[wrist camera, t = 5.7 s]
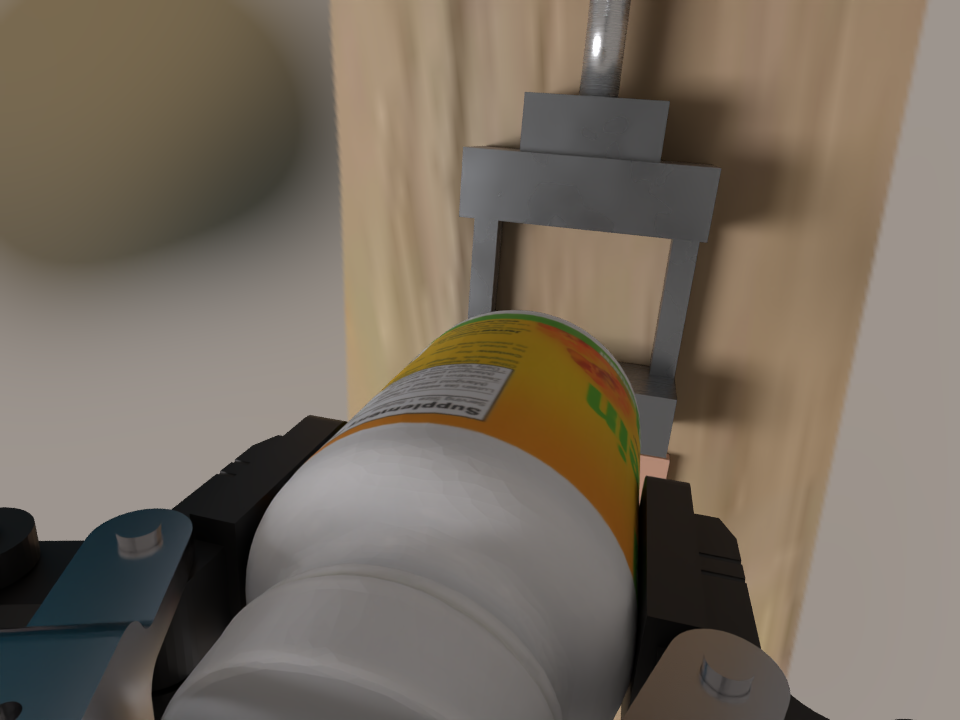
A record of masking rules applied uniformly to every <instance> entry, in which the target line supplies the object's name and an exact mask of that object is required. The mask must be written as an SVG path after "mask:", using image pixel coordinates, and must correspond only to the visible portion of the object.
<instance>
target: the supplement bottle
mask: <svg viewBox="0 0 960 720" xmlns="http://www.w3.org/2000/svg"><path fill="white" fill-rule="evenodd" d="M640 451H641V431H640V419H639V411H638V405H637V402H636V398H635V394H634V391H633V389H632V386H631V384H630V382H629V380H628V378H627V376H626V374H625V373H624V371H623V369H622V367H621V366H620V364H619V363H618V362H617V361H616V359H615V358H614V357H613V356H612V354H611V353H610V352H609V351H608V350H607V349H606V348H605V347H604V346H603V345H602V344H601V343H600V342H599V341H598V340H596V339H595V338H594V337H593V336H591V335H590V334H589V333H587V332H586V331H584V330H583V329H581V328H580V327H578V326H576V325H574V324H572V323H570V322H568V321H566V320H563V319H561V318H558V317H555V316H552V315H548V314H545V313H539V312H534V311H523V310H505V311H496V312H490V313H486V314H481V315H478V316H475V317H472V318H469V319H467V320H465V321H463V322H461V323H459V324H457V325H455V326H454V327H452V328H451V329H449V330H448V331H446V332H445V333H444V334H442V335H441V336H440V337H439V338H437V339H436V340H435V341H433V342H432V343H431V344H430V345H429V346H428V347H427V348H426V349H425V350H423V351H422V352H421V353H420V354H419V355H418V356H417V357H416V358H415V359H414V360H413V361H411V362H410V363H409V364H408V365H407V366H406V368H404V369H403V370H402V371H401V372H400V373H399V374H398V375H397V376H396V377H395V378H394V379H392V380H391V381H390V382H389V383H388V384H387V385H386V386H385V387H384V388H383V389H382V390H381V391H380V392H379V393H378V394H377V395H376V396H375V397H374V398H373V399H372V400H370V401H369V402H368V403H367V404H366V405H365V406H364V407H363V408H362V409H361V410H360V411H359V412H358V413H357V414H356V415H355V416H354V417H353V418H352V419H351V420H350V421H349V422H348V423H347V424H346V425H345V426H344V427H342V428H341V429H340V430H339V431H338V432H337V433H336V434H335V435H334V436H333V437H332V438H331V439H330V440H329V441H328V442H327V443H325V444H324V445H323V446H322V447H321V448H320V449H319V450H318V451H317V452H316V453H315V454H314V455H312V456H311V457H310V458H309V459H308V460H307V461H306V462H305V463H304V464H303V465H302V466H301V467H300V468H299V469H298V470H297V471H296V472H295V474H294V475H293V476H292V477H291V479H290V480H289V481H288V482H287V483H286V484H285V485H284V486H283V487H282V489H281V490H280V491H279V492H278V493H277V495H276V496H275V497H274V499H273V500H272V502H271V503H270V505H269V506H268V508H267V510H266V512H265V514H264V515H263V517H262V520H261V522H260V524H259V526H258V528H257V530H256V532H255V535H254V539H253V542H252V545H251V548H250V553H249V558H248V563H247V569H246V587H245V592H246V607H244V608H243V609H242V610H241V611H240V612H239V613H238V614H237V615H236V616H235V617H234V618H233V619H232V621H231V622H230V623H229V625H228V626H227V627H226V629H225V630H224V632H223V633H222V635H221V636H220V638H219V639H218V640H217V641H216V643H215V644H214V645H213V646H212V648H211V649H210V650H209V651H208V652H207V654H206V655H205V656H204V657H203V658H202V660H201V661H200V662H199V663H198V665H197V666H196V667H195V669H194V670H193V671H192V672H191V674H190V675H189V676H188V677H187V679H186V680H185V681H184V682H183V684H182V685H181V686H180V687H179V689H178V690H177V691H176V693H175V694H174V696H173V698H172V699H171V701H170V702H169V704H168V706H167V708H166V710H165V712H164V714H163V716H162V718H161V720H613V719H614V717H615V715H616V713H617V711H618V709H619V708H620V706H621V704H622V701H623V699H624V696H625V694H626V692H627V689H628V687H629V683H630V679H631V675H632V671H633V666H634V660H635V651H636V639H637V625H638V570H639V489H640Z"/></svg>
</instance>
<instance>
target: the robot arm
mask: <svg viewBox="0 0 960 720" xmlns="http://www.w3.org/2000/svg"><path fill="white" fill-rule="evenodd" d="M347 423H348V422H346V421H341V420H335V419H330V418H324V417H318V416H313V415H309V416H307V417H305V418H304V419H303V420H302V421H301V422H299V423H298V424H297V425H296V426H295V427H293V428H292V429H291V430H290V431H289V432H287V433H286V434H285V435H284V436H279V435H278V436H275V437H272V438H270V439H267V440H265V441H263V442H260V443H258V444H255V445H253V446H251V447H250V448H249V449H248V450H247V451H245V452H244V453H243V454H241V455H240V456H239V457H237V458H236V459H235V462H234V463H232V462H231V463H230V464H229V465H227V466H226V467H225V468H224V469H222V470H221V471H220V474H216V475H215V476H213V477H212V478H211V479H210V480H208V481H207V482H206V483H204V484H203V485H202V486H201V487H199V488H198V489H197V490H196V491H194V492H193V493H192V494H191V495H189V496H188V497H187V498H185V499H184V500H183V501H182V502H180V503H179V504H178V505H177V506H175V507H174V508H173V509H172V510H170V509H158V508H157V509H155V508H154V509H143V510H137V511H133V512H128V513H125V514H122V515H119V516H117V517H114V518H112V519H110V520H108V521H106V522H105V523H103V524H101V525H100V526H98V527H97V528H95V529H94V530H93V531H92V532H91V533H90V534H89V535H88V537H87V538H86V539H85V541H38V536H37V531H36V526H35V521H34V518H33V516H32V515H31V514H30V513H28V512H26V511H24V510H21V509H16V508H6V507H3V508H0V720H161V718H162V716H163V714H164V712H165V710H166V708H167V706H168V704H169V702H170V701H171V699H172V698H173V696H174V694H175V693H176V691H177V690H178V689H179V687H180V686H181V685H182V684H183V682H184V681H185V680H186V679H187V677H188V676H189V675H190V674H191V672H192V671H193V670H194V669H195V667H196V666H197V665H198V663H199V662H200V661H201V660H202V658H203V657H204V656H205V655H206V654H207V652H208V651H209V650H210V649H211V648H212V646H213V645H214V644H215V643H216V641H217V640H218V639H219V638H220V636H221V635H222V633H223V632H224V630H225V629H226V627H227V626H228V625H229V623H230V622H231V621H232V619H233V618H234V617H235V616H236V615H237V614H238V613H239V612H240V611H241V610H242V609H243V608H244V607H246V592H245V587H246V569H247V563H248V558H249V553H250V548H251V545H252V542H253V539H254V535H255V532H256V530H257V528H258V526H259V524H260V522H261V520H262V517H263V515H264V514H265V512H266V510H267V508H268V506H269V505H270V503H271V502H272V500H273V499H274V497H275V496H276V495H277V493H278V492H279V491H280V490H281V489H282V487H283V486H284V485H285V484H286V483H287V482H288V481H289V480H290V479H291V477H292V476H293V475H294V474H295V472H296V471H297V470H298V469H299V468H300V467H301V466H302V465H303V464H304V463H305V462H306V461H307V460H308V459H309V458H310V457H311V456H312V455H314V454H315V453H316V452H317V451H318V450H319V449H320V448H321V447H322V446H323V445H324V444H325V443H327V442H328V441H329V440H330V439H331V438H332V437H333V436H334V435H335V434H336V433H337V432H338V431H339V430H340V429H341V428H342V427H344V426H345V425H346V424H347ZM621 720H829V719H828V718H825V717H824V716H822V715H820V714H818V713H816V712H814V711H813V710H811V709H810V708H808V707H807V706H805V705H803V704H802V703H801V702H800V701H798V700H797V699H796V698H794V697H793V696H792V695H791V694H790V688H789V685H788V681H787V679H786V677H785V675H784V673H783V672H782V670H781V669H780V668H779V666H778V665H777V664H776V663H775V662H774V661H773V659H772V658H771V657H770V656H768V655H767V654H766V653H765V652H764V651H763V650H761V646H760V642H759V637H758V633H757V628H756V624H755V620H754V615H753V611H752V606H751V602H750V597H749V593H748V588H747V584H746V583H745V575H744V571H743V566H742V565H741V557H740V553H739V548H738V544H737V539H736V538H735V537H734V536H733V534H732V533H731V532H730V531H729V530H728V528H727V527H726V526H725V525H724V524H723V522H722V521H721V520H720V519H719V518H715V517H710V516H705V515H699V514H694V511H693V503H692V495H691V487H690V483H686V482H680V481H675V480H669V479H663V478H658V477H652V476H647V475H646V476H645V479H644V483H643V488H642V494H641V499H640V505H639V570H638V625H637V639H636V651H635V660H634V666H633V671H632V675H631V679H630V683H629V687H628V689H627V692H626V694H625V696H624V699H623V701H622V704H621ZM897 720H911V719H897Z"/></svg>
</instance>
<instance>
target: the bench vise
mask: <svg viewBox="0 0 960 720" xmlns="http://www.w3.org/2000/svg"><path fill="white" fill-rule="evenodd" d="M630 4H631V0H590V6H589V14H588V23H587V32H586V40H585V49H584V58H583V66H582V75H581V84H580V93H579V95H564V94H549V93H533V92H525V97H524V108H523V119H522V131H521V142H520V149H515V148H503V147H491V146H474V147H463V161H462V178H461V195H460V211H459V217H468V218H475V222H474V236H473V251H472V266H471V281H470V296H469V310H468V319H469V318H472V317H475V316H478V315H481V314H486V313H490V312H495V311H496V299H497V287H498V274H499V262H500V250H501V238H502V226H503V221H506V222H516V223H525V224H535V225H544V226H554V227H563V228H573V229H582V230H592V231H601V232H611V233H620V234H630V235H639V236H649V237H658V238H668V239H671V245H670V251H669V257H668V263H667V268H666V274H665V280H664V286H663V292H662V297H661V303H660V309H659V315H658V320H657V326H656V332H655V338H654V344H653V349H652V355H651V361H650V366H643V365H637V364H630V363H623V362H618V363H619V364H620V366H621V367H622V369H623V371H624V373H625V374H626V376H627V378H628V380H629V382H630V384H631V386H632V389H633V391H634V394H635V398H636V402H637V405H638V411H639V419H640V431H641V451H640V454H645V455H650V456H656V457H662V458H666V455H667V450H668V444H669V439H670V434H671V429H672V424H673V418H674V413H675V408H676V403H677V396H676V388H675V380H674V376H675V371H676V366H677V360H678V355H679V350H680V344H681V339H682V334H683V328H684V323H685V318H686V312H687V307H688V302H689V296H690V291H691V286H692V280H693V275H694V270H695V264H696V259H697V254H698V248H699V243H700V242H706V243H707V241H708V236H709V230H710V225H711V220H712V215H713V210H714V204H715V199H716V194H717V189H718V184H719V178H720V173H721V168H719V167H717V166H714V165H710V164H698V163H686V162H674V161H662V160H661V154H662V148H663V142H664V135H665V129H666V123H667V117H668V110H669V104H670V101H658V100H643V99H627V98H618V94H619V86H620V79H621V71H622V64H623V56H624V49H625V41H626V34H627V26H628V19H629V12H630Z"/></svg>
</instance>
